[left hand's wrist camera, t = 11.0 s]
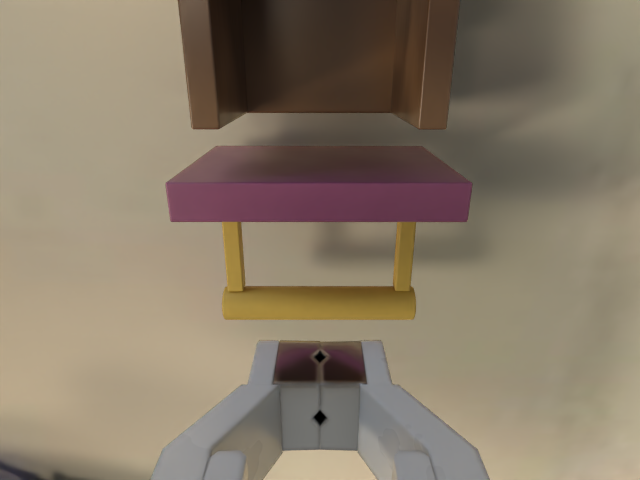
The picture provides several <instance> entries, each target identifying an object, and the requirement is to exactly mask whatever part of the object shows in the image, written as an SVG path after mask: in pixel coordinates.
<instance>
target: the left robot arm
mask: <svg viewBox="0 0 640 480" xmlns="http://www.w3.org/2000/svg"><path fill="white" fill-rule="evenodd" d="M286 450H354V451H358V454H359V455H360V456H361V458H362V459H363V460H364V462H365V463H366V465H367V466H368V467H369V469H370V470H371V471H372V473H373V474H374V475H375V477H376V478H377V480H490V479H489V476H488V474H487V471H486V469H485V466H484V464H483V462H482V459H481V457H480V454H479V452H478V449H476V448H475V447H474V446H473V445H472V444H470V443H469V442H468V441H467V440H465V439H464V438H463V437H462V436H461V435H459V434H458V433H457V432H456V431H454V430H453V429H452V428H451V427H450V426H448V425H447V424H446V423H445V422H443V421H442V420H441V419H440V418H439V417H437V416H436V415H435V414H434V413H433V412H431V411H430V410H429V409H428V408H426V407H425V406H424V405H423V404H422V403H420V402H419V401H418V400H417V399H415V398H414V397H413V396H412V395H411V394H409V393H408V392H407V391H406V390H404V389H403V388H402V387H401V386H400V385H392V380H391V376H390V372H389V367H388V363H387V359H386V355H385V350H384V346H383V342H382V341H381V340H368V341H341V342H320V341H283V340H280V341H278V340H259V342H258V343H257V346H256V350H255V354H254V359H253V363H252V367H251V371H250V376H249V380H248V384H247V385H240V386H239V387H238V388H237V389H236V390H234V391H233V392H232V393H231V394H229V395H228V396H227V397H226V398H224V399H223V400H222V401H221V402H220V403H218V404H217V405H216V406H215V407H213V408H212V409H211V410H210V411H209V412H207V413H206V414H205V415H204V416H202V417H201V418H200V419H199V420H198V421H196V422H195V423H194V424H193V425H191V426H190V427H189V428H188V429H187V430H185V431H184V432H183V433H182V434H180V435H179V436H178V437H177V438H176V439H174V440H173V441H172V442H171V443H169V444H168V445H167V446H166V447H164V448H163V450H162V452H161V455H160V457H159V460H158V462H157V464H156V467H155V469H154V471H153V474H152V476H151V479H150V480H263V479H264V477H265V476H266V474H267V473H268V472H269V470H270V469H271V468H272V466H273V465H274V464H275V462H276V461H277V459H278V458H279V457H280V455H281V454H282V451H286Z"/></svg>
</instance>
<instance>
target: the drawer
mask: <svg viewBox="0 0 640 480" xmlns="http://www.w3.org/2000/svg"><path fill="white" fill-rule="evenodd" d="M178 5H179V15H180V24H181V34H182V43H183V52H184V62H185V71H186V81H187V90H188V99H189V109H190V118H191V127H192V129H220V128H222V127H223V126H225V125H227V124H228V123H230V122H232V121H234V120H235V119H237V118H239V117H240V116H242V115H244V114H246V113H392V114H394V115H396V116H397V117H399V118H401V119H402V120H404V121H406V122H408V123H409V124H411V125H413V126H414V127H416V128H418V129H446V128H447V119H448V110H449V100H450V91H451V82H452V72H453V63H454V53H455V44H456V35H457V25H458V16H459V7H460V0H178ZM165 185H166V192H167V199H168V207H169V214H170V221H171V222H222V228H223V239H224V251H225V262H226V274H227V285H228V286H227V287H225V289H224V292H223V299H222V311H223V316H224V319H226V320H412V319H414V317H415V313H416V297H415V292H414V289H413V287H411V286H410V285H411V274H412V263H413V251H414V240H415V229H416V222H467V221H468V214H469V207H470V199H471V192H472V183H471V182H470V181H469V180H467V179H466V178H465V177H463V176H462V175H461V174H459V173H458V172H456V171H455V170H454V169H452V168H451V167H450V166H448V165H447V164H446V163H444V162H443V161H442V160H440V159H439V158H437V157H436V156H435V155H433V154H432V153H431V152H429V151H428V150H427V149H425V148H424V147H422V146H216V147H214V148H213V149H212V150H210V151H209V152H207V153H206V154H205V155H203V156H202V157H201V158H199V159H198V160H196V161H195V162H194V163H192V164H191V165H190V166H188V167H187V168H185V169H184V170H183V171H181V172H180V173H179V174H177V175H176V176H175V177H173V178H172V179H170V180H169V181H168V182H166V184H165ZM241 222H397V234H396V248H395V262H394V276H393V286H245V271H244V257H243V243H242V229H241Z"/></svg>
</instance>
